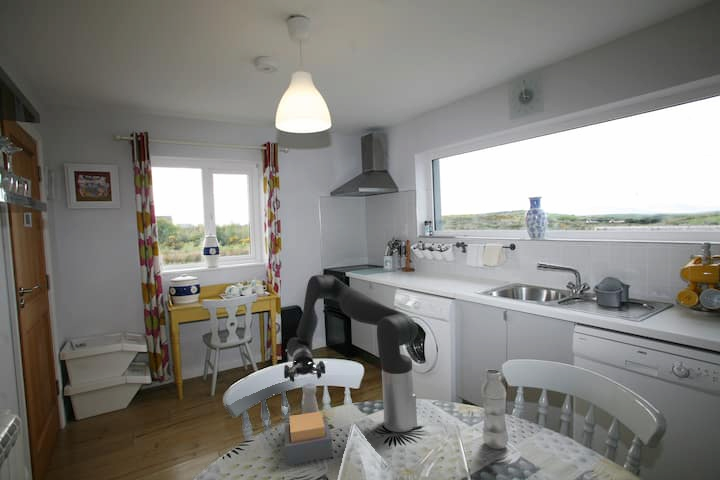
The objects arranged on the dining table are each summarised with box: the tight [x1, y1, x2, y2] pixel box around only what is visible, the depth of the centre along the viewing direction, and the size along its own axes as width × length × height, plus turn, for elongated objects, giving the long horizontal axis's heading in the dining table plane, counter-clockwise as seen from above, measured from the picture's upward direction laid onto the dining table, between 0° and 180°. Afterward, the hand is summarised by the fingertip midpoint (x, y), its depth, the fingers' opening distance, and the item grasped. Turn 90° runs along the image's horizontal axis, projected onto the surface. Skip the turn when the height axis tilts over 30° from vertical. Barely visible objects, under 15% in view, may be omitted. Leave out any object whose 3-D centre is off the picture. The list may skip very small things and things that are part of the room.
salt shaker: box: [301, 382, 320, 414], centre depth 113 cm, size 6×6×13 cm
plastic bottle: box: [480, 368, 509, 450], centre depth 99 cm, size 6×7×20 cm
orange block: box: [289, 410, 325, 443], centre depth 102 cm, size 9×9×4 cm
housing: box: [283, 416, 333, 466], centre depth 102 cm, size 12×12×5 cm
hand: (306, 377), depth 124 cm, fingers open, 8 cm apart
